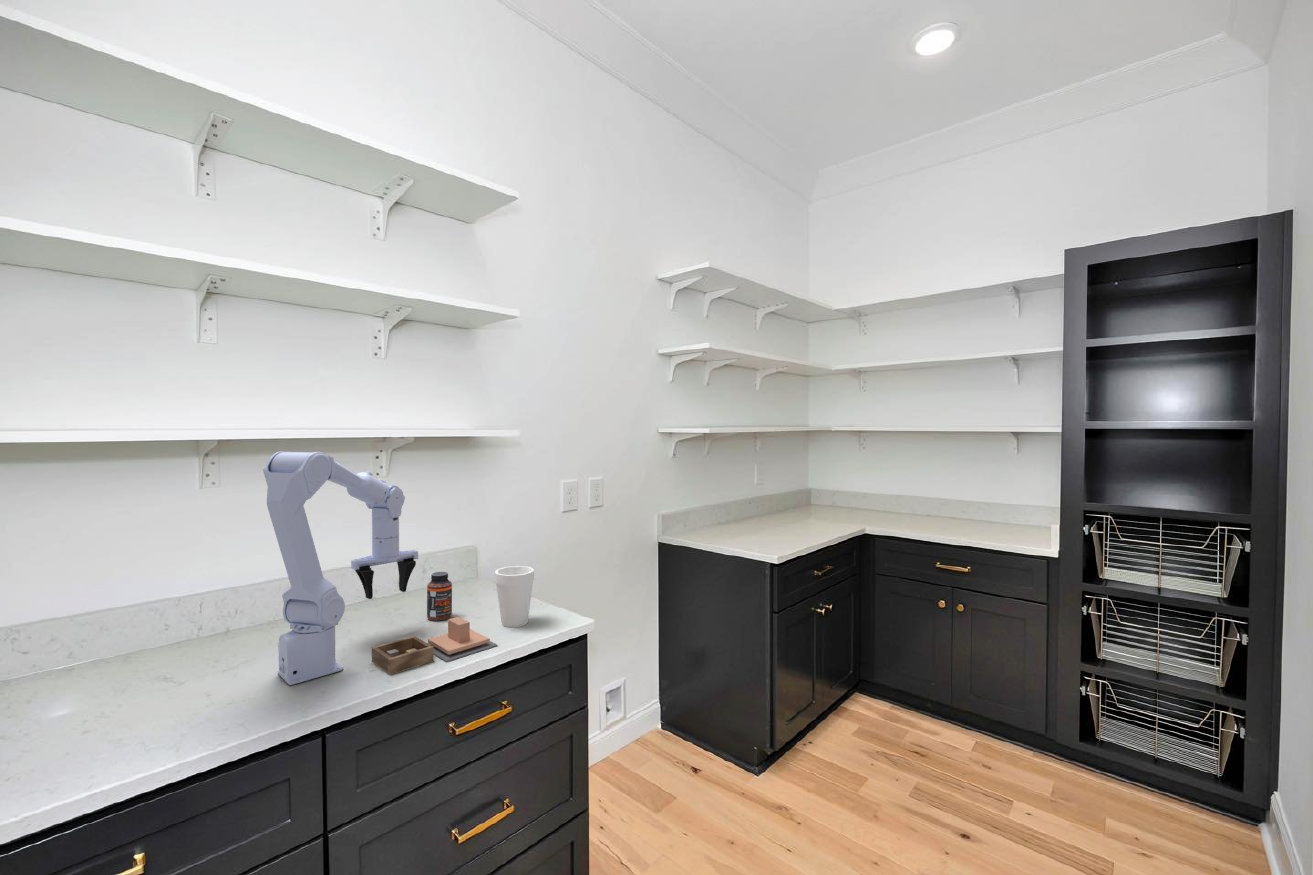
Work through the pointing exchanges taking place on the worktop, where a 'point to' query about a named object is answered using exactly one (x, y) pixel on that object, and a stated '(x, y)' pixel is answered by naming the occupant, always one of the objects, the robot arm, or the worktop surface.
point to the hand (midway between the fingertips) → (386, 594)
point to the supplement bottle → (439, 597)
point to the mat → (462, 652)
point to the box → (402, 654)
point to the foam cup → (514, 594)
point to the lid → (458, 637)
